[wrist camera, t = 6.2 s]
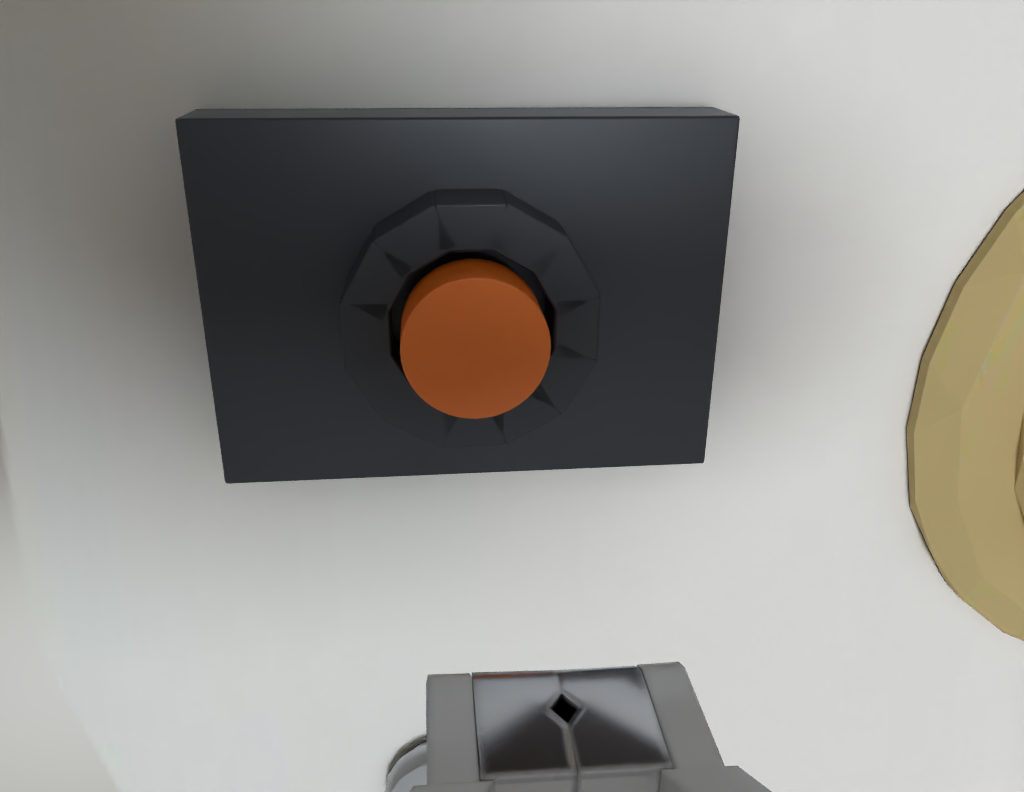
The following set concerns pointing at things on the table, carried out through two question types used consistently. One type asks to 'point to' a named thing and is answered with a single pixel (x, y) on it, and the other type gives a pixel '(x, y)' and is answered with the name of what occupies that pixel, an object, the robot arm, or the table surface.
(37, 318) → the table surface
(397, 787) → the rook chess piece
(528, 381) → the round orange button
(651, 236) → the dark grey button base
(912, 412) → the desk lamp
